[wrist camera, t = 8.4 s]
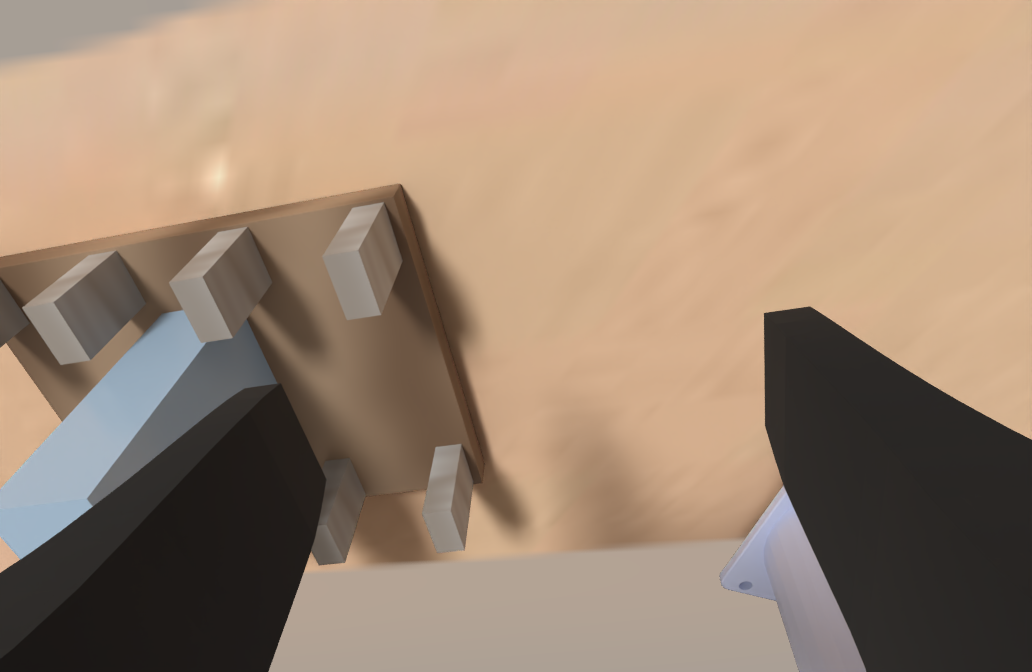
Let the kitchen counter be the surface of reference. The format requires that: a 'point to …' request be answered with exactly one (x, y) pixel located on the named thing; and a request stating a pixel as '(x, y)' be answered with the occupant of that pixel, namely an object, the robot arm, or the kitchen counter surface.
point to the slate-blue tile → (126, 425)
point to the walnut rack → (278, 338)
